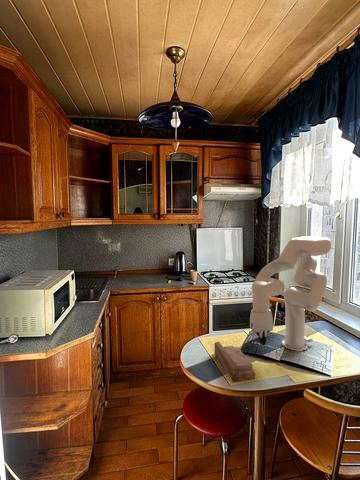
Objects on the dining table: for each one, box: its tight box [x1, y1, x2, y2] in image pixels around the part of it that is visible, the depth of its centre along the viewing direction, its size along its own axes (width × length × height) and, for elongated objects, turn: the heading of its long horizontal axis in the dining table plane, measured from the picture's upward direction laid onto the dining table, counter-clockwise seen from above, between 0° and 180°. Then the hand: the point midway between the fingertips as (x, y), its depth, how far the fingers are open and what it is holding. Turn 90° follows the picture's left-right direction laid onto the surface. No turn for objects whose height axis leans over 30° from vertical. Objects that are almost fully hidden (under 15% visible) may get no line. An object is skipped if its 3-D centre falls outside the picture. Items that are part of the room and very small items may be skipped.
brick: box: [225, 346, 254, 372], centre depth 126 cm, size 17×8×5 cm, turn 13°
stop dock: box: [214, 341, 256, 383], centre depth 125 cm, size 10×24×6 cm, turn 12°
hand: (262, 343), depth 128 cm, fingers closed
